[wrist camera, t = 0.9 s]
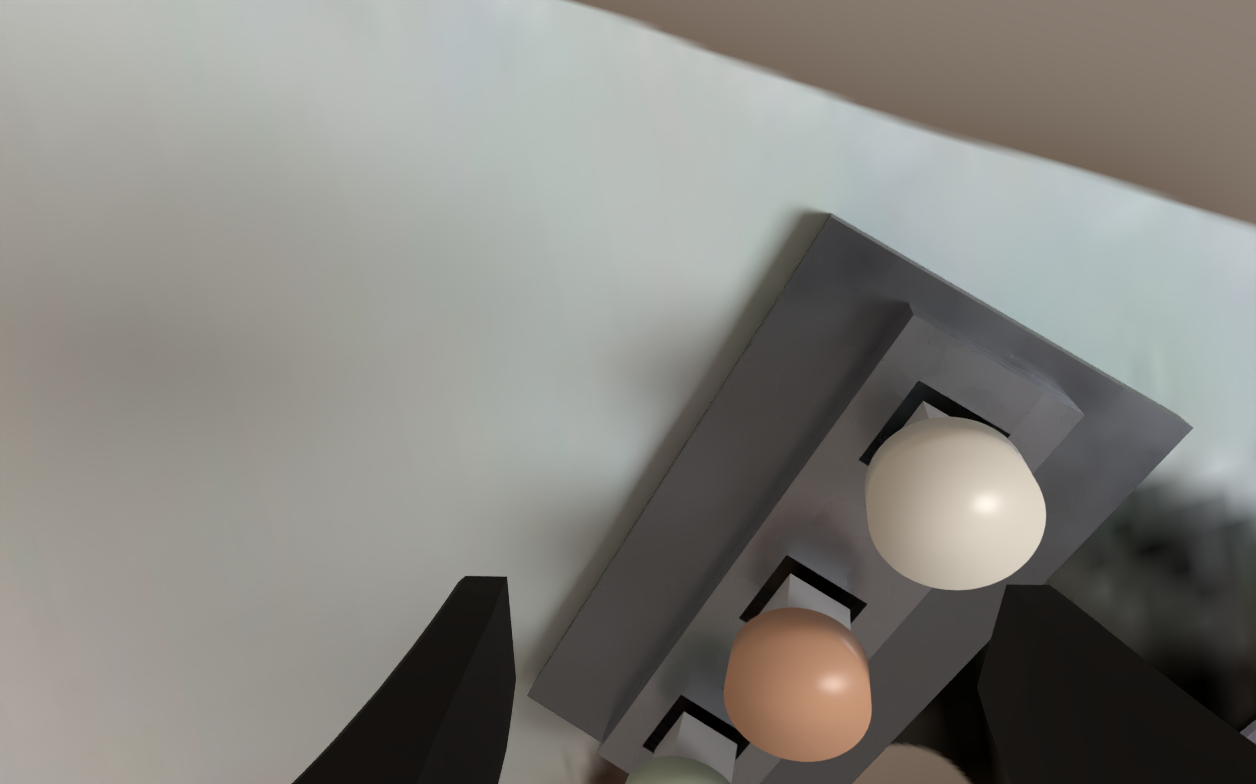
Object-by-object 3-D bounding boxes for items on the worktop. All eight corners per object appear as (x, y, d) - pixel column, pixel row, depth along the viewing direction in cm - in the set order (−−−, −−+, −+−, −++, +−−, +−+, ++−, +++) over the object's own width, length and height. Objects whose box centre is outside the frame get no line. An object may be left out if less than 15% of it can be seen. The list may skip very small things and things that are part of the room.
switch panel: (1179, 415, 23) (1218, 449, 21) (783, 834, 32) (780, 892, 30) (831, 213, 24) (831, 223, 21) (536, 679, 33) (512, 723, 30)
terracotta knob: (890, 604, 24) (901, 695, 21) (820, 687, 26) (818, 785, 22) (781, 538, 25) (771, 615, 21) (717, 623, 26) (697, 710, 22)
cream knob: (1039, 432, 22) (1084, 499, 18) (950, 536, 23) (974, 618, 19) (914, 358, 22) (932, 409, 18) (834, 466, 23) (835, 534, 20)
